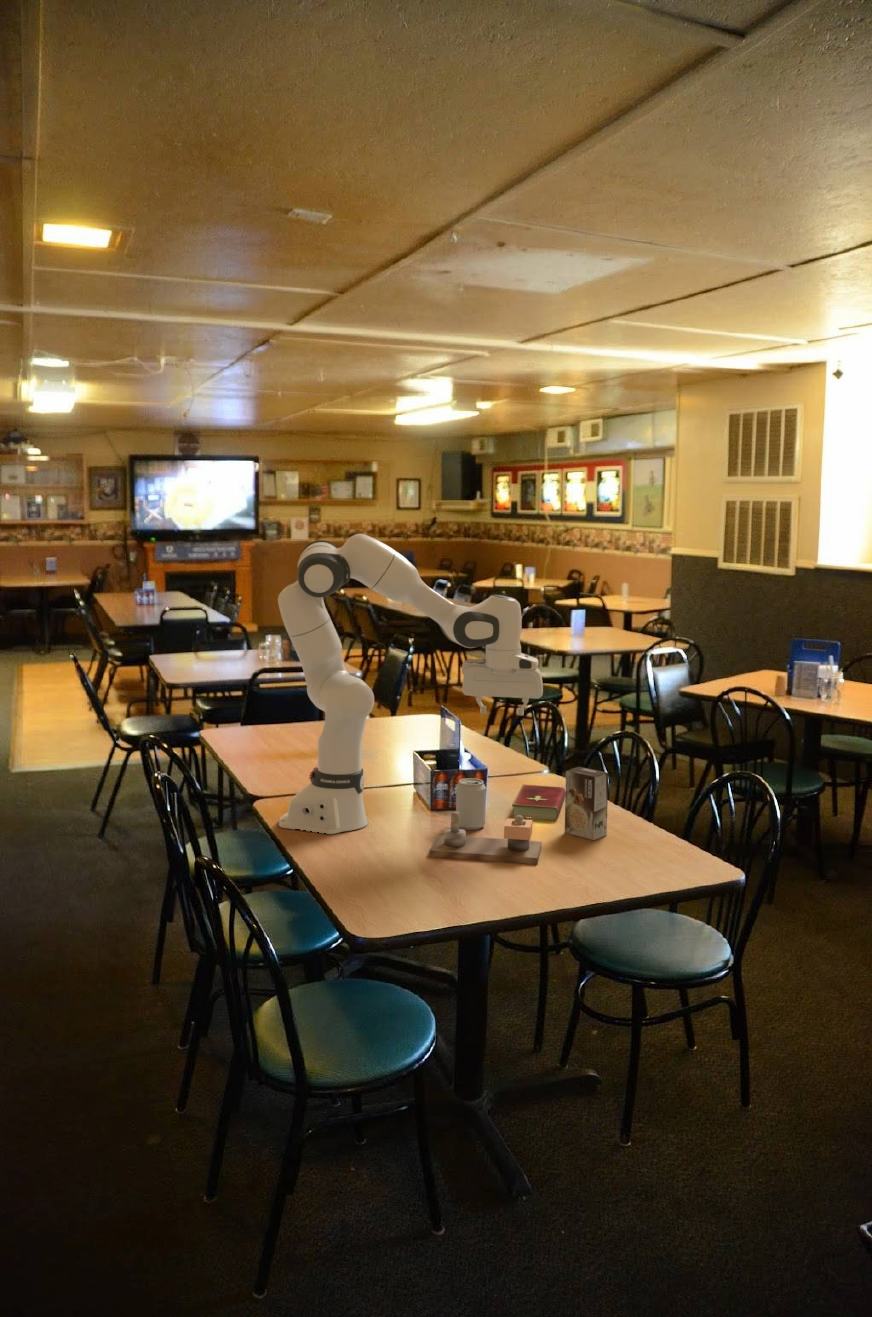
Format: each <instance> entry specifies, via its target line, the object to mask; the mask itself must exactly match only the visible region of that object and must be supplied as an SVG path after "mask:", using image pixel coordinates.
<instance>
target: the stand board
mask: <svg viewBox="0 0 872 1317" xmlns="http://www.w3.org/2000/svg"><path fill="white" fill-rule="evenodd" d="M459 818H460V813H459V812H456V811H452V812H451V813H450V828H447V829H445V830H444V833H443V834H438V835H437V837H436V838H435V840H434V841H433V843H432V845H431V847H430V849H429V853H428V854H429V857H431V858H443V859H458V860H468V861H469V860H472V861H483V862H485V861H486V862H497V863H513V864H524V863H525V864H526V865H527V864H529V865H538V863H539V859H540V856H541V855H540V854H541V852H542V841H540V840H539V841H538V840H537V841H536V840H519V839H504V838H495V837H494V838H493V837H479V836H478V837H477V836H466V834H467V832H466V829H462V828H460V827H459ZM514 819H515V824H514V825H523V819H524V818H523V817H522V816H521V815H517V816H516V817H514Z"/></svg>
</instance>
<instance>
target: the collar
mask: <svg viewBox="0 0 872 1317" xmlns="http://www.w3.org/2000/svg"><path fill="white" fill-rule="evenodd" d="M514 824H515V818H506V821H505V822H504V826H503V827H504V828H503V839H519V840H529V841H531V838H532V835H533V819H525V818H523V825H514Z"/></svg>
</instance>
